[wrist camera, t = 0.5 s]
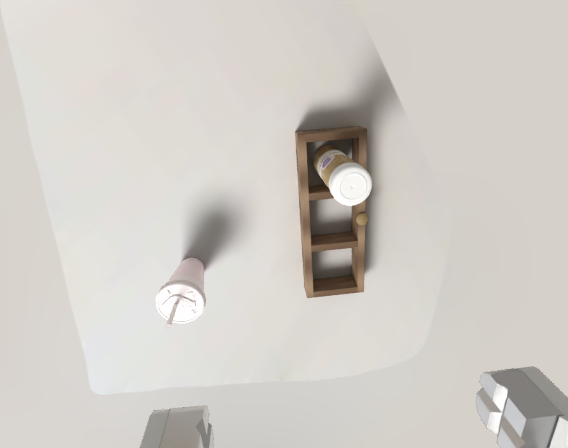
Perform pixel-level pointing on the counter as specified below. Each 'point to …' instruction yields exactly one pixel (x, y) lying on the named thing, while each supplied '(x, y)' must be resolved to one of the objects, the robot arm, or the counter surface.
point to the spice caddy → (336, 239)
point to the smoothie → (183, 293)
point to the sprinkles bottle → (342, 175)
